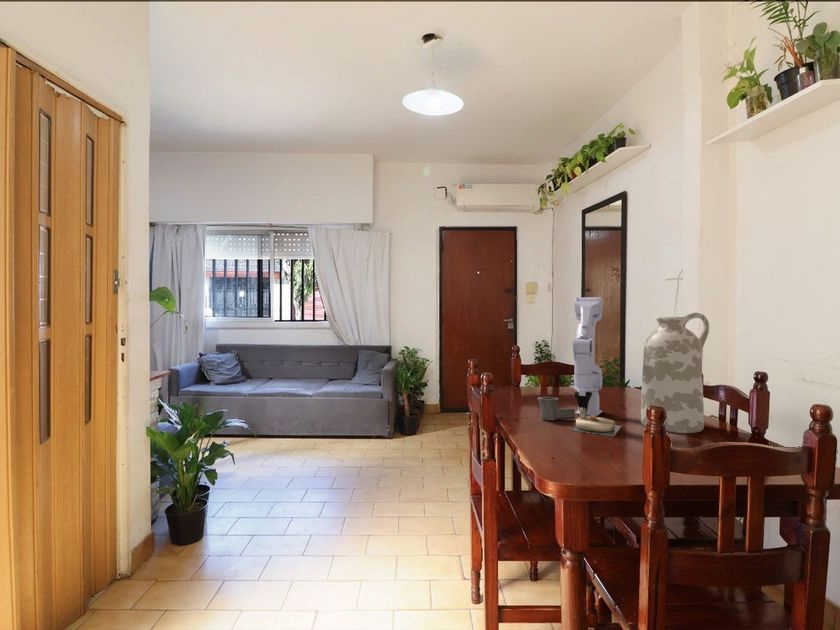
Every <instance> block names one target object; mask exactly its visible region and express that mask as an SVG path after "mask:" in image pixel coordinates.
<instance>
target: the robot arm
mask: <svg viewBox="0 0 840 630" xmlns="http://www.w3.org/2000/svg"><path fill="white" fill-rule="evenodd" d="M603 301H604V300H603V297H602V296H598V297H597V296H594V297H592V296H590V297H589V296H588V297H587V296H585V297H582V296H581V297H578V296H576V297H575V299H574V312H575V317H576V320H578V321H580V323H579V324H578V325H577V326H576V330H575V331H576V333H575V338H574V339H575V340H573V341H572V354H573V361H574V366H573V367H574V374H573V385H570V389H574V390H575V391H574V394H573V395H574V397H575V399H576V401H577V410H576V411H575V415H580V408H581V407H584V408H586V416H596V417H598V416H599V415H600V414H601V413H602V412H603V410H601V409H600V394H599V390H600V391H601V390H602V388H603V372H602V368H601V367H600V366H598V365H597V364H596V363H595V358H596V357H595V355H596V354H595V353H596V352H595V351H596V350H595V349H596V348H595V347H596V325H597V323H598V322H599V321H600V320H602V317H603V306H604V305H603Z"/></svg>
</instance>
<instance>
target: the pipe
mask: <svg viewBox="0 0 840 630" xmlns="http://www.w3.org/2000/svg"><path fill="white" fill-rule="evenodd" d="M537 401H538V403H539V404H538V405H539V408H540V416H541V417H540V418H541V419H542V420H543V421H547V422H549V421H550V422H551V421H553V422H554V421H556V420H557V421H559V420H573V419H575V418H576V414H575V412H576V411H575V409H574V408H572V407H569V408H568V407H567V408H559V398H558V397H551V396H540V397H537Z"/></svg>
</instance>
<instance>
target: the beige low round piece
mask: <svg viewBox="0 0 840 630" xmlns="http://www.w3.org/2000/svg"><path fill="white" fill-rule="evenodd" d="M615 425H616V421H614V420H613V419H609V418H606V417H600V416H599V417H598V416H591V415H589V416H587V415H586V408H584V407H581V408H580V414H579V417H577V418H576V419H575V426H576V427H578V428H580V429H584V430H588V431H598V432H605V431H612V430H614V429H615Z"/></svg>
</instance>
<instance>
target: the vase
mask: <svg viewBox="0 0 840 630" xmlns="http://www.w3.org/2000/svg"><path fill="white" fill-rule="evenodd" d="M655 319H656V321H657V323H658V327H657V328H656V329H655V330H653V331H651V333H650V334H649V335H648V336H647V337H646V339H645V342H644V345H643V346H644V348H643V359H642V360H643V361H642V373H641V374H642V376H641V393H640V394H641V395H640V397H641V400H640V424H641V425H642V426H644V427H646V424H647V419H646V409H647V407H648V406H649V405H660V406H664V407H665V408H666V410H667V420H666V422H665V425H666V427H667V430H668V432H667V433H674V434H675V433H676V434H696V433H699V432H702V431H703V430H704V428H705V419H704V417H705V412H704V410H705V409H704V385H703V384H704V382H703V353H704V351H703V350H704V345H705V343H706V341H707V338H708V336H709V331H710V322H709V319H708V318H707V317H706V316H705V315H704V314H703V313H700V312H692V313H688V314H686V315H684V316H657V317H655ZM694 319H700V320H701V321H702V324H703V327H702V332H701V334H700V337H698V336H697V335H696V334H695V333H694V332H693V331H692V330H690V329H688V328H686V325H687V323H688V322H689V321H690V320H694Z"/></svg>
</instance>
